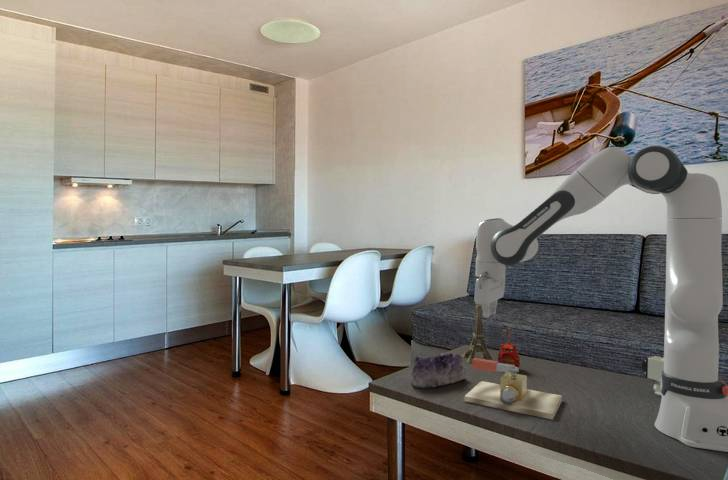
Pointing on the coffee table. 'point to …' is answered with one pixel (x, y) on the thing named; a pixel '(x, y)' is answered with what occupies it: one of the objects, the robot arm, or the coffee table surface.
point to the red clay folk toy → (508, 353)
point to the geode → (437, 371)
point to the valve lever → (494, 366)
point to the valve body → (513, 388)
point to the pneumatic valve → (654, 370)
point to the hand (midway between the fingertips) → (489, 315)
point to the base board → (530, 405)
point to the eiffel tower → (477, 335)
